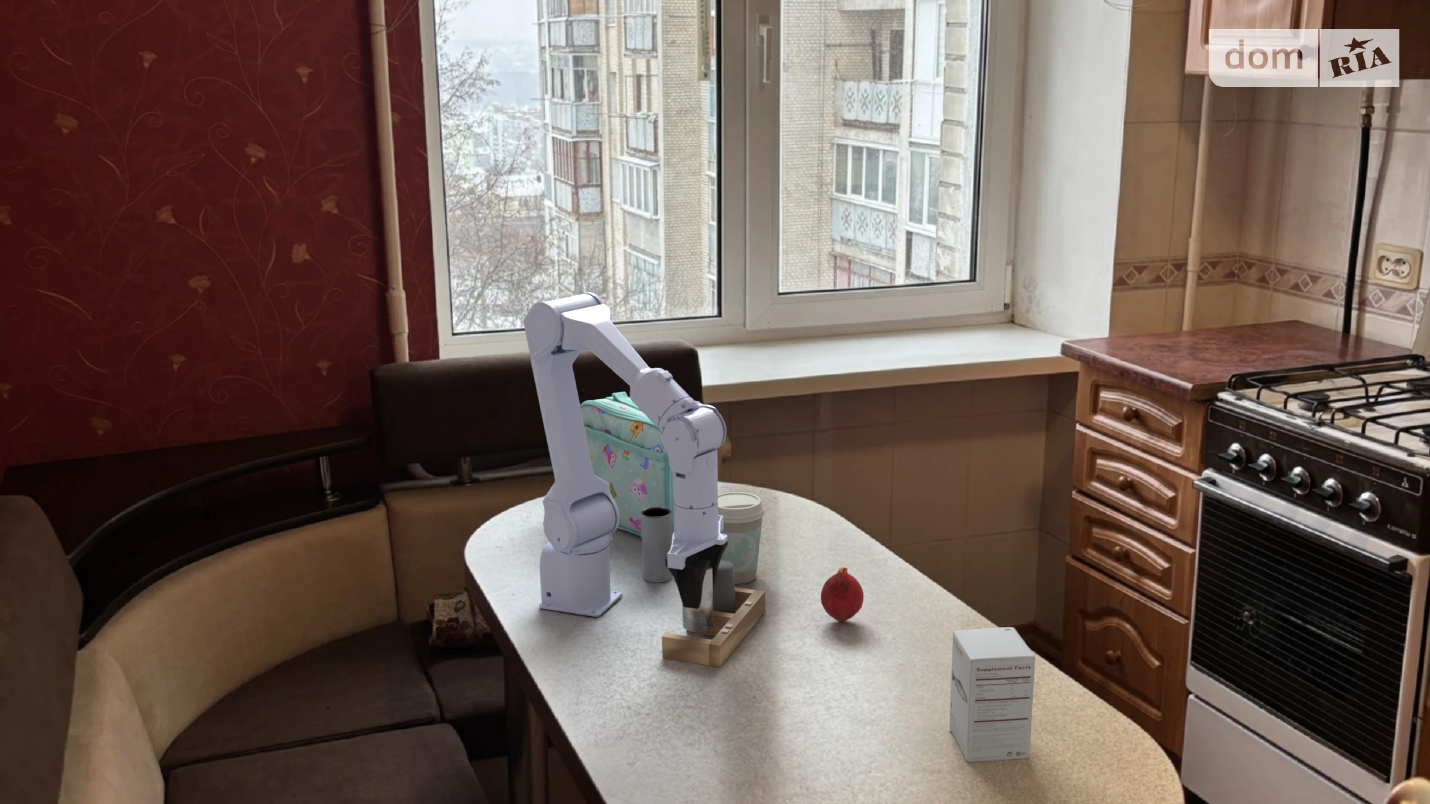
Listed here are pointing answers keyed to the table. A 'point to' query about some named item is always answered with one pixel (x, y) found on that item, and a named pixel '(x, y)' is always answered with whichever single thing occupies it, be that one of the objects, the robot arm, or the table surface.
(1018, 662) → the supplement box
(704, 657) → the rack
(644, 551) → the grey tubular piece
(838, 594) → the onion
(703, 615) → the grey rod
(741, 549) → the coffee cup
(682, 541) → the robot arm
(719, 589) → the dark grey cylinder
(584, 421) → the lunch box
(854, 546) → the table surface
